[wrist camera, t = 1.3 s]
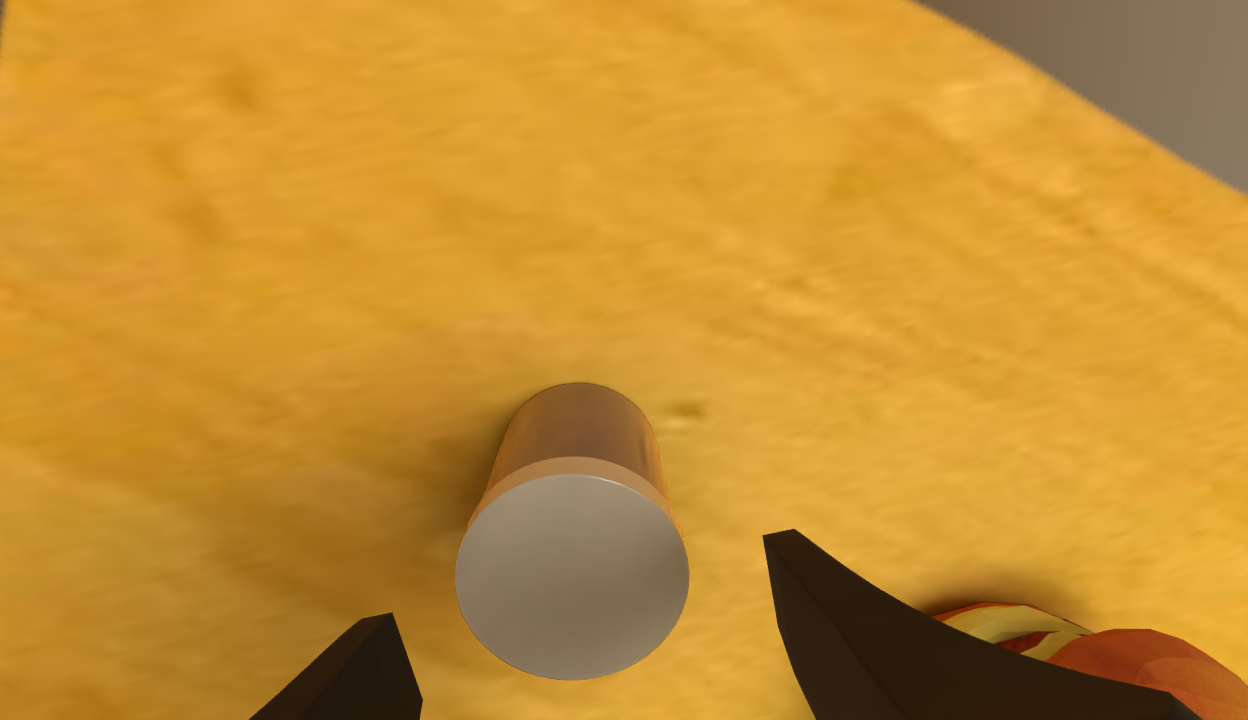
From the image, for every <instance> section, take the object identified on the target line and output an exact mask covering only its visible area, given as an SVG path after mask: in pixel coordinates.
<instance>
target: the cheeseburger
mask: <svg viewBox="0 0 1248 720" xmlns="http://www.w3.org/2000/svg"><path fill="white" fill-rule="evenodd" d="M932 618H934V619H936V620H938V621H940V622H943V623H945V624H947V625H949V626H951V627H953V628H955V629H958V630H960V631H962V632H965V633H967V634H969V635H972V636H974V637H977V638H979V639H982V640H985V641H987V642H990V643H993V644H995V645H998V646H1000V647H1003V648H1006V649H1008V650H1011V651H1014V652H1017V653H1020V654H1023V655H1026V656H1029V657H1032V658H1035V659H1038V660H1041V661H1044V662H1048V663H1051V664H1055V665H1058V666H1062V667H1065V668H1068V669H1072V670H1075V671H1079V672H1082V673H1086V674H1090V675H1094V676H1098V677H1103V678H1107V679H1112V680H1116V681H1121V682H1125V683H1130V684H1135V685H1139V686H1144V687H1148V688H1153V689H1157V690H1162V691H1166V692H1170V693H1171V694H1172V695H1173V696H1175V697H1176V698H1177V699H1178V700H1180V701H1181V702H1182V703H1184V704H1185V705H1186V706H1187V707H1188V708H1190V709H1191V710H1192V711H1193V712H1195V713H1196V714H1197V715H1198V716H1200V717H1201V718H1202V719H1203V720H1248V686H1247V685H1246V684H1245V683H1244V682H1243V681H1242V680H1241V679H1240V678H1239V677H1238V676H1237V675H1236V674H1234V673H1233V672H1231V671H1230V670H1229V669H1227V668H1226V667H1224V666H1223V665H1221V664H1220V663H1219V662H1217V661H1216V660H1214V659H1213V658H1211V657H1210V656H1209V655H1207V654H1206V653H1204V652H1203V651H1201V650H1199V649H1198V648H1196V647H1194V646H1193V645H1191V644H1189V643H1187V642H1186V641H1184V640H1182V639H1179V638H1176V637H1173V636H1170V635H1167V634H1164V633H1161V632H1158V631H1154V630H1151V629H1112V630H1108V631H1103V632H1099V633H1093V632H1091V631H1089V630H1087V629H1085V628H1083V627H1081V626H1078V625H1076V624H1074V623H1072V622H1070V621H1068V620H1066V619H1060V618H1058V617H1056V616H1053V615H1051V614H1049V613H1047V612H1045V611H1043V610H1041V609H1039V608H1037V607H1035V606H1032V605H1018V604H1002V603H986V602H982V603H979V604H975V605H972V606H968V607H965V608H961V609H957V610H954V611H950V612H947V613H943V614H940V615H936V616H933V617H932Z"/></svg>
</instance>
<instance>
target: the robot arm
mask: <svg viewBox="0 0 1248 720" xmlns="http://www.w3.org/2000/svg"><path fill="white" fill-rule="evenodd" d="M763 541H764V547H765V553H766V559H767V564H768V570H769V576H770V582H771V588H772V594H773V599H774V605H775V611H776V617H777V623H778V628H779V631H780V633H781V636H782V639H783V642H784V645H785V648H786V651H787V654H788V657H789V660H790V662H791V665H792V668H793V671H794V674H795V676H796V678H797V680H798V683H799V685H800V687H801V689H802V691H803V693H804V695H805V697H806V699H807V701H808V704H809V706H810V708H811V710H812V712H813V714H814V716H815V718H816V720H1203V719H1202V718H1201V717H1200V716H1198V715H1197V714H1196V713H1195V712H1193V711H1192V710H1191V709H1190V708H1188V707H1187V706H1186V705H1185V704H1184V703H1182V702H1181V701H1180V700H1178V699H1177V698H1176V697H1175V696H1173V695H1172V694H1171V693H1170V692H1166V691H1162V690H1157V689H1153V688H1148V687H1144V686H1139V685H1135V684H1130V683H1125V682H1121V681H1116V680H1112V679H1107V678H1103V677H1098V676H1094V675H1090V674H1086V673H1082V672H1079V671H1075V670H1072V669H1068V668H1065V667H1062V666H1058V665H1055V664H1051V663H1048V662H1044V661H1041V660H1038V659H1035V658H1032V657H1029V656H1026V655H1023V654H1020V653H1017V652H1014V651H1011V650H1008V649H1006V648H1003V647H1000V646H998V645H995V644H993V643H990V642H987V641H985V640H982V639H979V638H977V637H974V636H972V635H969V634H967V633H965V632H962V631H960V630H958V629H955V628H953V627H951V626H949V625H947V624H945V623H943V622H940V621H938V620H936V619H934V618H932V617H930V616H928V615H926V614H924V613H922V612H920V611H918V610H916V609H914V608H912V607H910V606H908V605H906V604H905V603H903V602H901V601H899V600H898V599H896V598H894V597H893V596H891V595H889V594H887V593H886V592H884V591H882V590H880V589H879V588H877V587H876V586H874V585H872V584H871V583H869V582H868V581H866V580H865V579H863V578H862V577H860V576H859V575H857V574H856V573H854V572H853V571H851V570H850V569H848V568H847V567H846V566H844V565H843V564H841V563H840V562H839V561H837V560H836V559H834V558H833V557H832V556H830V555H829V554H828V553H826V552H825V551H824V550H822V549H821V548H820V547H818V546H817V545H816V544H814V543H813V542H812V541H810V540H809V539H808V538H806V537H805V536H804V535H802V534H801V533H800V532H798V531H797V530H795V529H791V530H786V531H781V532H777V533H772V534H767V535H763ZM422 702H423V699H422V696H421V693H420V690H419V687H418V684H417V682H416V679H415V676H414V673H413V670H412V667H411V664H410V662H409V659H408V656H407V653H406V650H405V647H404V644H403V641H402V639H401V636H400V633H399V630H398V627H397V624H396V621H395V619H394V616H393V613H387V614H382V615H377V616H373V617H368V618H363V619H361V620H359V621H358V622H357V623H355V624H354V625H353V626H352V627H350V628H349V629H348V630H347V631H346V632H345V633H343V634H342V635H341V636H340V637H339V638H338V639H337V640H336V641H335V642H333V643H332V644H331V645H330V646H329V647H328V648H327V649H326V650H325V651H324V652H323V653H322V654H320V655H319V656H318V657H317V658H316V659H315V660H314V661H313V662H312V663H311V664H310V665H309V666H308V667H307V668H305V669H304V670H303V671H302V672H301V673H300V674H299V675H298V676H297V677H296V678H295V679H294V680H293V681H291V682H290V683H289V684H288V685H287V686H286V687H285V688H284V689H283V690H282V691H281V692H280V693H278V694H277V695H276V696H275V697H274V698H273V699H272V700H271V701H269V702H268V703H267V704H266V705H265V706H264V707H263V708H261V709H260V710H259V711H258V712H257V713H256V714H255V715H253V716H252V717H251V718H250V719H249V720H420V714H421V708H422Z"/></svg>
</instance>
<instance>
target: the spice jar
mask: <svg viewBox="0 0 1248 720" xmlns="http://www.w3.org/2000/svg"><path fill="white" fill-rule="evenodd" d="M454 579H455V591H456V596H457V600H458V604H459V607H460V609H461V612H462V615H463V617H464V619H465V621H466V623H467V624H468V626H469V628H470V630H471V631H472V632H473V634H474V635H475V636H476V638H477V639H478V640H479V641H480V642H481V643H482V644H483V645H484V646H485V647H486V648H487V649H488V650H489V651H490V652H491V653H493V654H494V655H495V656H496V657H498V658H499V659H501V660H502V661H504V662H506V663H507V664H509V665H511V666H513V667H515V668H517V669H519V670H521V671H524V672H526V673H529V674H533V675H536V676H539V677H544V678H549V679H557V680H585V679H593V678H598V677H602V676H606V675H610V674H613V673H616V672H618V671H621V670H624V669H626V668H628V667H630V666H632V665H633V664H635V663H637V662H639V661H640V660H642V659H643V658H645V657H646V656H648V655H649V654H650V653H651V652H652V651H654V650H655V649H656V648H657V647H658V646H659V645H660V644H661V643H662V642H663V641H664V640H665V639H666V637H667V636H668V635H669V634H670V632H671V631H672V629H673V628H674V626H675V625H676V623H677V621H678V619H679V617H680V615H681V613H682V611H683V608H684V605H685V602H686V599H687V594H688V588H689V564H688V557H687V553H686V549H685V545H684V541H683V537H682V533H681V529H680V526H679V523H678V521H677V519H676V516H675V514H674V512H673V511H672V508H671V504H670V499H669V495H668V491H667V486H666V482H665V478H664V474H663V469H662V465H661V461H660V456H659V452H658V448H657V443H656V439H655V436H654V432H653V430H652V428H651V425H650V423H649V422H648V420H647V418H646V417H645V415H644V414H643V413H642V412H641V410H640V409H639V408H638V407H637V406H636V405H635V404H634V403H633V402H632V401H630V400H629V399H628V398H626V397H625V396H623V395H622V394H620V393H618V392H616V391H614V390H612V389H609V388H607V387H603V386H599V385H595V384H588V383H571V384H564V385H560V386H556V387H553V388H550V389H548V390H545V391H543V392H541V393H539V394H538V395H536V396H534V397H533V398H532V399H530V400H529V401H528V402H526V403H525V404H524V405H523V406H522V407H521V408H520V409H519V410H518V412H517V413H516V414H515V416H514V417H513V419H512V420H511V422H510V424H509V426H508V428H507V431H506V433H505V436H504V438H503V441H502V444H501V447H500V450H499V452H498V455H497V458H496V461H495V463H494V466H493V469H492V472H491V475H490V477H489V480H488V483H487V486H486V488H485V491H484V494H483V497H482V500H481V502H480V503H479V504H478V506H477V507H476V509H475V511H474V513H473V514H472V516H471V518H470V521H469V523H468V526H467V528H466V531H465V534H464V536H463V539H462V542H461V544H460V547H459V550H458V554H457V558H456V563H455V574H454Z"/></svg>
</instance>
